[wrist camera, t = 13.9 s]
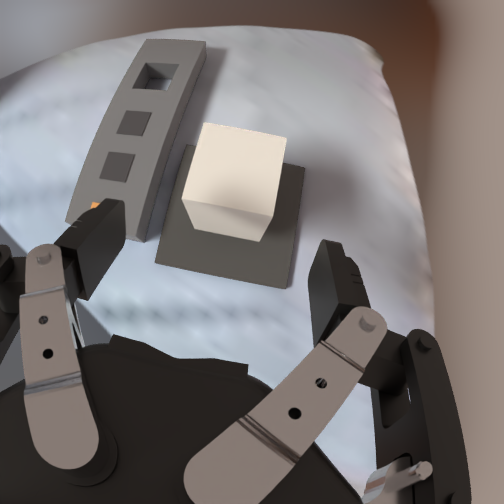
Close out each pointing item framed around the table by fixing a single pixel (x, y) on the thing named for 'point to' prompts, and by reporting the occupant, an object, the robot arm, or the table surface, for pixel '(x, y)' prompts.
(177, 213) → the mat
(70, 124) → the table surface
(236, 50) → the table surface
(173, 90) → the power strip
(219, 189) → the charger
